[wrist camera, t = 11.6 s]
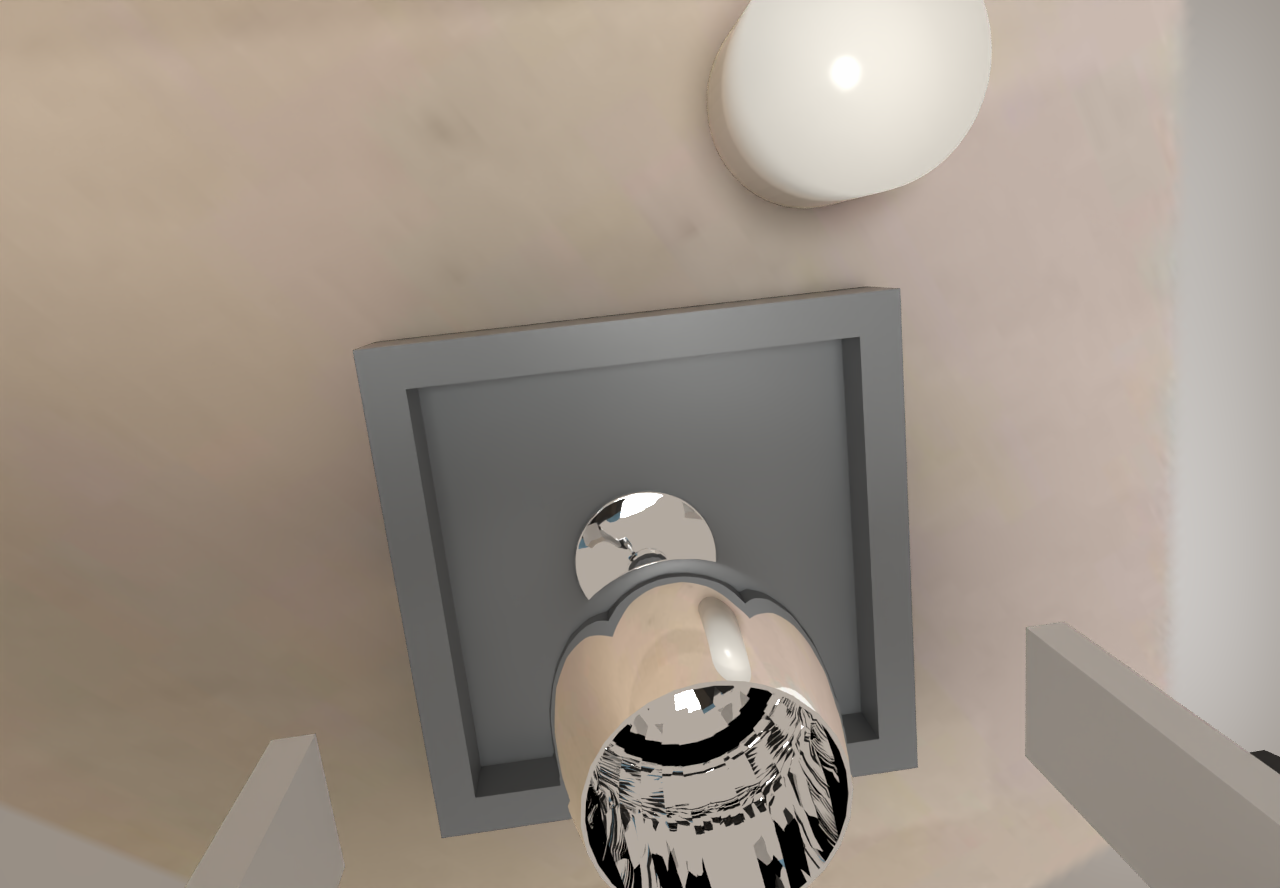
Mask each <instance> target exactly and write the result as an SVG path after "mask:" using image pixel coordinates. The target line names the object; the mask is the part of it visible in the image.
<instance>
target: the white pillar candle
mask: <svg viewBox="0 0 1280 888" xmlns="http://www.w3.org/2000/svg"><path fill="white" fill-rule="evenodd" d="M991 57H992V42H991V29H990V24H989V19H988V14H987V10H986V7H985V4H984V1H983V0H751V1H750V3H749V4H748V6H747V7H746V9H745V10H744V12H743V13H742V15H741V16H740V18H739V19H738V21H737V22H736V24H735V25H734V27H733V28H732V30H731V31H730V33H729V34H728V36H727V37H726V39H725V40H724V42H723V43H722V45H721V47H720V49H719V51H718V53H717V55H716V57H715V60H714V63H713V66H712V69H711V73H710V77H709V82H708V89H707V116H708V123H709V128H710V132H711V135H712V139H713V142H714V144H715V147H716V149H717V151H718V154H719V155H720V157H721V159H722V161H723V162H724V164H725V166H726V167H727V168H728V170H729V171H730V172H731V173H732V175H733V176H734V177H735V178H736V179H737V180H738V181H739V182H740V183H741V184H742V185H743V186H744V187H746V188H747V189H748V190H750V191H751V192H752V193H754V194H755V195H757V196H759V197H761V198H763V199H764V200H767V201H769V202H772V203H774V204H777V205H781V206H786V207H791V208H801V209H802V208H817V207H823V206H828V205H832V204H836V203H840V202H844V201H848V200H852V199H856V198H860V197H864V196H868V195H872V194H876V193H880V192H884V191H888V190H892V189H895V188H898V187H901V186H904V185H906V184H908V183H911V182H913V181H915V180H917V179H919V178H921V177H922V176H924V175H925V174H927V173H928V172H930V171H931V170H933V169H934V168H936V167H937V166H938V165H939V164H940V163H941V162H943V161H944V160H945V159H946V158H947V157H948V156H949V155H950V154H951V153H952V152H953V151H954V150H955V149H956V147H957V146H958V145H959V144H960V142H961V141H962V140H963V138H964V137H965V135H966V134H967V133H968V131H969V129H970V128H971V126H972V124H973V122H974V120H975V119H976V117H977V115H978V112H979V110H980V107H981V105H982V102H983V100H984V96H985V93H986V89H987V86H988V82H989V75H990V69H991Z"/></svg>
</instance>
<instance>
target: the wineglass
mask: <svg viewBox="0 0 1280 888" xmlns="http://www.w3.org/2000/svg"><path fill="white" fill-rule="evenodd" d="M574 567H575V574H576V578H577V581H578V584H579V587H580V589H581V591H582V593H583V595H584V596H585V597H586V599H587V600H588V601H587V602H586V603H585V605H584V606H583V607H582V608H581V609H580V611H579V612H578V614H577V615H576V616H575V618H574V619H573V621H572V622H571V624H570V626H569V628H568V630H567V632H566V634H565V636H564V638H563V640H562V642H561V645H560V647H559V650H558V653H557V656H556V659H555V662H554V665H553V670H552V674H551V680H550V687H549V710H548V720H549V731H550V743H551V749H552V754H553V758H554V762H555V766H556V771H557V775H558V779H559V782H560V785H561V788H562V791H563V794H564V798H565V801H566V804H567V807H568V810H569V812H570V815H571V817H572V819H573V822H574V824H575V827H576V829H577V831H578V833H579V836H580V838H581V840H582V842H583V845H584V847H585V849H586V852H587V854H588V856H589V857H590V859H591V861H592V863H593V864H594V866H595V868H596V870H597V871H598V873H599V875H600V877H601V878H602V879H603V880H604V881H605V882H606V883H607V884H608V885H609V886H610V887H611V888H807V887H808V886H809V885H810V884H811V883H812V882H813V881H814V880H815V879H816V878H817V877H818V876H819V875H820V874H821V873H822V872H823V871H824V870H825V868H826V867H827V865H828V864H829V862H830V861H831V859H832V858H833V856H834V855H835V853H836V851H837V850H838V848H839V847H840V845H841V842H842V839H843V837H844V834H845V831H846V829H847V826H848V823H849V820H850V815H851V805H852V796H853V782H852V772H851V764H850V757H849V750H848V744H847V739H846V734H845V729H844V724H843V720H842V716H841V712H840V708H839V704H838V701H837V698H836V695H835V692H834V689H833V686H832V683H831V680H830V677H829V674H828V671H827V669H826V666H825V664H824V662H823V660H822V658H821V656H820V654H819V652H818V650H817V648H816V646H815V644H814V642H813V640H812V638H811V636H810V634H809V633H808V631H807V630H806V628H805V627H804V626H803V624H802V623H801V621H800V620H799V619H798V617H797V616H796V615H795V613H794V612H793V611H792V610H791V609H790V608H789V607H788V606H787V605H786V604H785V603H784V602H783V600H781V599H780V598H779V597H778V596H777V595H776V594H774V593H773V592H772V591H771V590H770V589H768V588H767V587H765V586H764V585H763V584H761V583H760V582H758V581H757V580H756V579H754V578H753V577H751V576H750V575H748V574H746V573H744V572H742V571H740V570H738V569H735V568H733V567H730V566H727V565H724V564H720V563H717V547H716V542H715V538H714V534H713V532H712V530H711V528H710V525H709V523H708V522H707V521H706V519H705V518H704V516H703V515H702V514H701V513H700V512H699V510H698V509H697V508H696V507H694V506H693V505H692V504H691V503H689V502H688V501H686V500H685V499H683V498H680V497H678V496H675V495H673V494H670V493H668V492H663V491H655V490H641V491H632V492H629V493H626V494H623V495H620V496H617V497H615V498H613V499H612V500H610V501H608V502H607V503H605V504H603V505H602V506H601V507H600V508H599V509H597V510H596V511H595V512H594V513H593V514H592V515H591V516H590V518H589V519H588V521H587V522H586V524H585V525H584V526H583V528H582V530H581V532H580V535H579V537H578V540H577V542H576V547H575V554H574Z"/></svg>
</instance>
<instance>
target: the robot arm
mask: <svg viewBox="0 0 1280 888" xmlns="http://www.w3.org/2000/svg"><path fill="white" fill-rule="evenodd" d="M1025 756H1026V757H1027V758H1028V759H1029V760H1030V761H1031V763H1032V764H1033V765H1034V766H1035V767H1036V768H1037V769H1038V770H1039V771H1040V772H1041V773H1042V774H1043V775H1044V776H1045V777H1046V778H1047V779H1048V780H1049V782H1050V783H1051V784H1052V785H1053V786H1054V787H1055V788H1056V789H1057V790H1058V791H1059V792H1060V793H1061V794H1062V795H1063V796H1064V797H1065V798H1066V799H1067V800H1068V802H1069V803H1070V804H1071V805H1072V806H1073V807H1074V808H1075V809H1076V810H1077V811H1078V812H1079V813H1080V814H1081V815H1082V816H1083V817H1084V818H1085V819H1086V820H1087V822H1088V823H1089V824H1090V825H1091V826H1092V827H1093V828H1094V829H1095V830H1096V831H1097V832H1098V833H1099V834H1100V835H1101V836H1102V837H1103V838H1104V839H1105V840H1106V842H1107V843H1108V844H1109V845H1110V846H1111V847H1112V848H1113V849H1114V850H1115V851H1116V852H1117V853H1118V854H1119V855H1120V856H1121V857H1122V858H1123V859H1124V861H1125V862H1126V863H1127V864H1128V865H1129V866H1130V867H1131V868H1132V869H1133V870H1134V871H1135V872H1136V873H1137V874H1138V875H1139V876H1140V877H1141V878H1142V879H1143V881H1144V882H1145V883H1146V884H1147V885H1148V886H1149V887H1150V888H1280V757H1279V756H1277V755H1274V754H1272V753H1270V752H1268V751H1265V750H1262V751H1256V752H1250V753H1249V752H1248V751H1246V750H1245V749H1243V748H1242V747H1240V746H1239V745H1238V744H1236V743H1235V742H1234V741H1232V740H1231V739H1229V738H1228V737H1226V736H1225V735H1224V734H1222V733H1221V732H1219V731H1218V730H1217V729H1215V728H1214V727H1212V726H1211V725H1210V724H1208V723H1207V722H1205V721H1204V720H1202V719H1201V718H1200V717H1198V716H1197V715H1195V714H1194V713H1193V712H1191V711H1190V710H1188V709H1187V708H1186V707H1184V706H1183V705H1181V704H1180V703H1179V702H1177V701H1176V700H1174V699H1173V698H1172V697H1170V696H1169V695H1167V694H1166V693H1164V692H1163V691H1162V690H1160V689H1159V688H1157V687H1156V686H1155V685H1153V684H1152V683H1150V682H1149V681H1148V680H1146V679H1145V678H1143V677H1142V676H1141V675H1139V674H1138V673H1136V672H1135V671H1133V670H1132V669H1131V668H1129V667H1128V666H1126V665H1125V664H1124V663H1122V662H1121V661H1119V660H1118V659H1117V658H1115V657H1114V656H1112V655H1111V654H1110V653H1108V652H1107V651H1105V650H1104V649H1102V648H1101V647H1100V646H1098V645H1097V644H1095V643H1094V642H1093V641H1091V640H1090V639H1088V638H1087V637H1086V636H1084V635H1083V634H1081V633H1080V632H1079V631H1077V630H1076V629H1074V628H1073V627H1071V626H1070V625H1069V624H1067V623H1066V622H1059V623H1052V624H1046V625H1039V626H1032V627H1026V734H1025ZM344 868H345V864H344V860H343V855H342V851H341V846H340V842H339V837H338V832H337V828H336V823H335V819H334V814H333V810H332V805H331V801H330V796H329V792H328V787H327V783H326V778H325V774H324V769H323V765H322V760H321V756H320V751H319V747H318V742H317V738H316V734H309V735H303V736H296V737H289V738H282V739H276V740H271V741H270V743H269V745H268V746H267V748H266V750H265V751H264V753H263V755H262V756H261V758H260V760H259V762H258V763H257V765H256V767H255V768H254V770H253V772H252V774H251V775H250V777H249V779H248V780H247V782H246V784H245V785H244V787H243V789H242V791H241V792H240V794H239V796H238V797H237V799H236V801H235V803H234V804H233V806H232V808H231V809H230V811H229V813H228V814H227V816H226V818H225V820H224V821H223V823H222V825H221V826H220V828H219V830H218V832H217V833H216V835H215V837H214V838H213V840H212V842H211V843H210V845H209V847H208V849H207V850H206V852H205V854H204V855H203V857H202V859H201V861H200V862H199V864H198V866H197V867H196V869H195V871H194V872H193V874H192V876H191V878H190V879H189V881H188V883H187V884H186V886H185V888H338V885H339V882H340V880H341V877H342V874H343V871H344Z"/></svg>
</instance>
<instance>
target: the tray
mask: <svg viewBox="0 0 1280 888" xmlns="http://www.w3.org/2000/svg"><path fill="white" fill-rule="evenodd" d="M353 354H354V360H355V365H356V371H357V376H358V382H359V387H360V393H361V398H362V404H363V409H364V415H365V420H366V426H367V431H368V437H369V442H370V447H371V453H372V458H373V464H374V469H375V475H376V480H377V486H378V491H379V497H380V502H381V508H382V513H383V519H384V524H385V530H386V535H387V541H388V546H389V552H390V557H391V563H392V568H393V573H394V579H395V584H396V590H397V595H398V601H399V606H400V612H401V617H402V623H403V628H404V634H405V639H406V645H407V650H408V656H409V661H410V667H411V672H412V678H413V683H414V688H415V694H416V699H417V705H418V710H419V716H420V721H421V727H422V732H423V738H424V743H425V749H426V754H427V760H428V765H429V771H430V776H431V782H432V787H433V793H434V798H435V803H436V809H437V814H438V820H439V825H440V831H441V836H442V838H446V837H453V836H460V835H466V834H473V833H480V832H487V831H493V830H500V829H507V828H514V827H520V826H527V825H534V824H540V823H547V822H554V821H561V820H567V819H572V817H571V815H570V812H569V810H568V807H567V804H566V801H565V798H564V794H563V791H562V788H561V785H560V782H559V779H558V775H557V771H556V766H555V762H554V758H553V754H552V749H551V743H550V731H549V720H548V710H549V687H550V680H551V674H552V670H553V665H554V662H555V659H556V656H557V653H558V650H559V647H560V645H561V642H562V640H563V638H564V636H565V634H566V632H567V630H568V628H569V626H570V624H571V622H572V621H573V619H574V618H575V616H576V615H577V614H578V612H579V611H580V609H581V608H582V607H583V606H584V605H585V603H586V602H587V601H588V600H587V599H586V597H585V596H584V595H583V593H582V591H581V589H580V587H579V584H578V581H577V578H576V574H575V567H574V554H575V547H576V542H577V540H578V537H579V535H580V532H581V530H582V528H583V526H584V525H585V524H586V522H587V521H588V519H589V518H590V516H591V515H592V514H593V513H594V512H595V511H596V510H597V509H599V508H600V507H601V506H602V505H603V504H605V503H607V502H608V501H610V500H612V499H613V498H615V497H617V496H620V495H623V494H626V493H629V492H632V491H641V490H655V491H663V492H668V493H670V494H673V495H675V496H678V497H680V498H683V499H685V500H686V501H688V502H689V503H691V504H692V505H693V506H694V507H696V508H697V509H698V510H699V512H700V513H701V514H702V515H703V516H704V518H705V519H706V521H707V522H708V523H709V525H710V528H711V530H712V532H713V534H714V538H715V542H716V547H717V563H720V564H724V565H727V566H730V567H733V568H735V569H738V570H740V571H742V572H744V573H746V574H748V575H750V576H751V577H753V578H754V579H756V580H757V581H758V582H760V583H761V584H763V585H764V586H765V587H767V588H768V589H770V590H771V591H772V592H773V593H774V594H776V595H777V596H778V597H779V598H780V599H781V600H783V602H784V603H785V604H786V605H787V606H788V607H789V608H790V609H791V610H792V611H793V612H794V613H795V615H796V616H797V617H798V619H799V620H800V621H801V623H802V624H803V626H804V627H805V628H806V630H807V631H808V633H809V634H810V636H811V638H812V640H813V642H814V644H815V646H816V648H817V650H818V652H819V654H820V656H821V658H822V660H823V662H824V664H825V666H826V669H827V671H828V674H829V677H830V680H831V683H832V686H833V689H834V692H835V695H836V698H837V701H838V704H839V708H840V712H841V716H842V720H843V724H844V729H845V734H846V739H847V744H848V750H849V757H850V764H851V772H852V777H857V776H864V775H871V774H877V773H884V772H891V771H898V770H904V769H911V768H918V762H917V735H916V707H915V680H914V653H913V626H912V599H911V571H910V544H909V517H908V490H907V462H906V435H905V408H904V381H903V354H902V326H901V299H900V288H883V287H859V288H850V289H841V290H832V291H824V292H815V293H806V294H797V295H788V296H779V297H770V298H761V299H753V300H744V301H735V302H726V303H717V304H708V305H699V306H690V307H682V308H673V309H664V310H655V311H646V312H637V313H628V314H619V315H611V316H602V317H593V318H584V319H575V320H566V321H557V322H548V323H539V324H531V325H522V326H513V327H504V328H495V329H486V330H477V331H468V332H460V333H451V334H442V335H433V336H424V337H415V338H406V339H397V340H389V341H380V342H374V343H371V344H369V345H366V346H363V347H360V348H358V349H355V350H353Z"/></svg>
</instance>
